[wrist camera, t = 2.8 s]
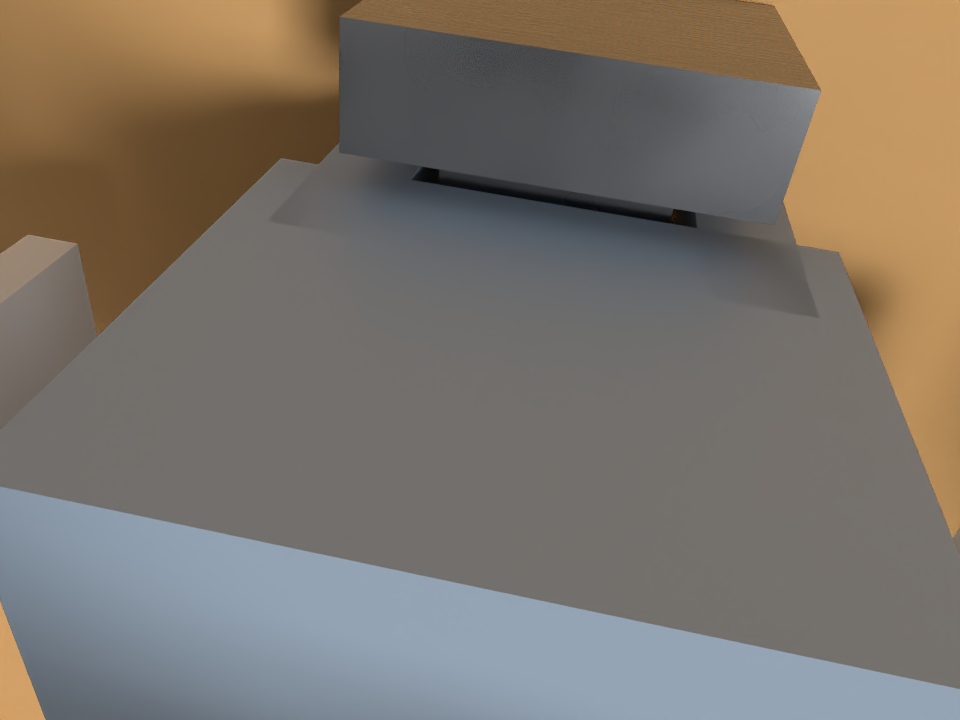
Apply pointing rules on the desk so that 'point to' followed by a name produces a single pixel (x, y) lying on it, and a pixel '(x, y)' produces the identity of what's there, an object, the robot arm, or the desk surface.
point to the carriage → (477, 475)
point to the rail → (582, 100)
